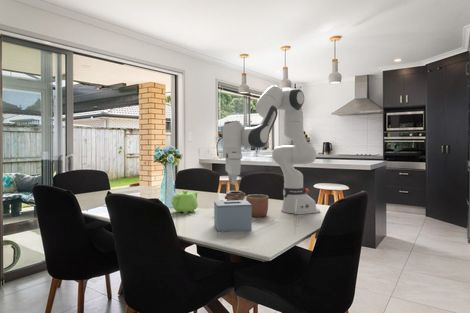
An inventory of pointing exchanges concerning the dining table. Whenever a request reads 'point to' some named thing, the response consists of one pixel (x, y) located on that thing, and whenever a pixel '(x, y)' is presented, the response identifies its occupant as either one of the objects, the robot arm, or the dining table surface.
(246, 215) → the moneybox
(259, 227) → the dining table surface
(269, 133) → the robot arm
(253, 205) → the planter
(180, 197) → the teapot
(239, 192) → the decorative box
